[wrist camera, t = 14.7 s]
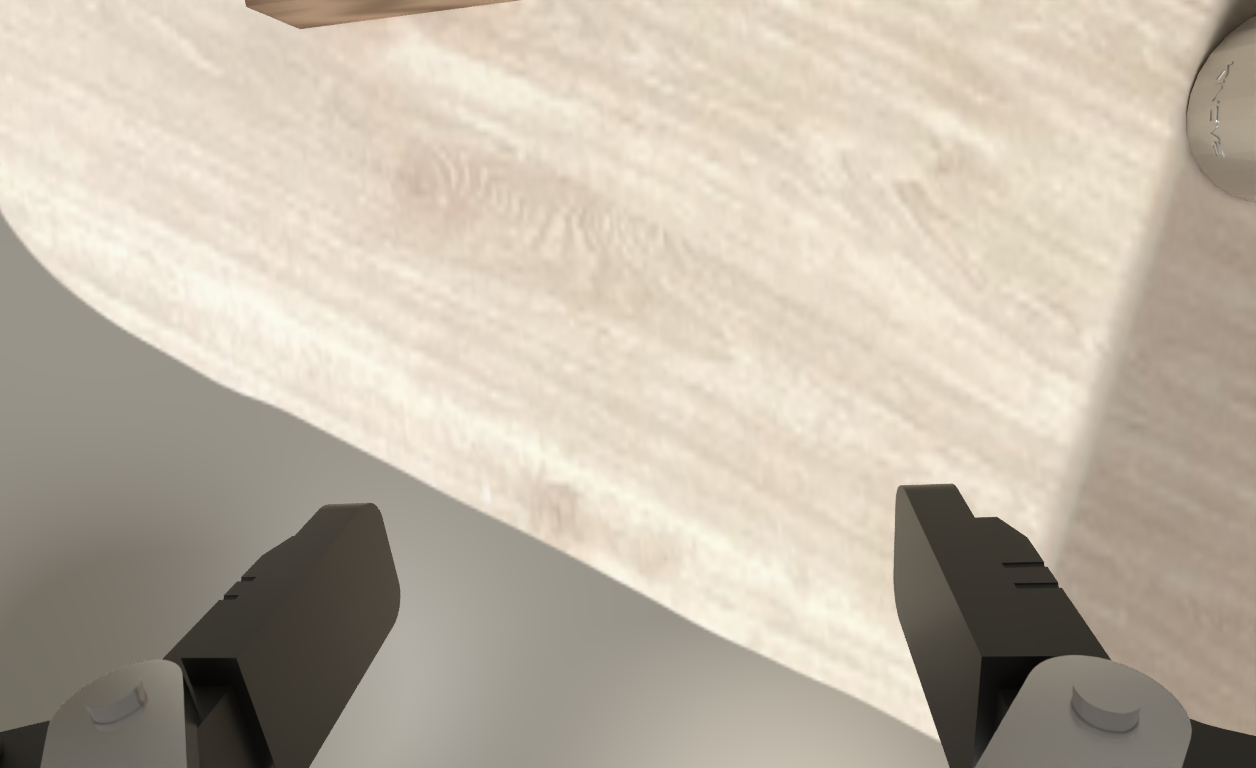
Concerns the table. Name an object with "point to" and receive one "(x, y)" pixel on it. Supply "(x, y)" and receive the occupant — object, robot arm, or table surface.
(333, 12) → the walnut riser
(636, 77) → the table surface
